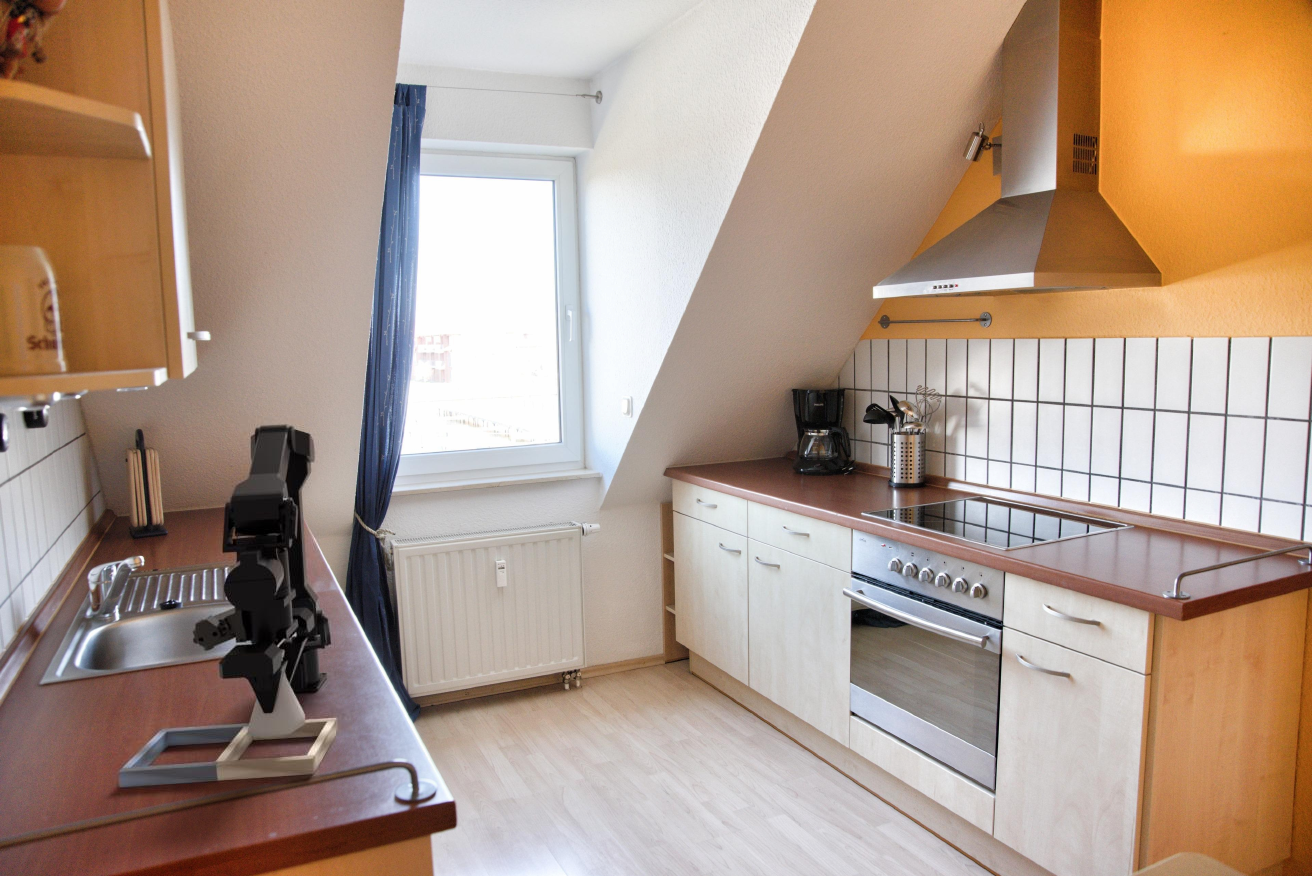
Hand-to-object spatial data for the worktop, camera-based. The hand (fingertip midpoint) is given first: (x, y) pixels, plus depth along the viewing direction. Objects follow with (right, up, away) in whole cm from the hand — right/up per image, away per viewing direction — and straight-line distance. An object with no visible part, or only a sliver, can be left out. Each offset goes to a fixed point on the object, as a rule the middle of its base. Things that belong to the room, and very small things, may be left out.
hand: (275, 704), depth 116 cm
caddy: (-5, -7, 0) cm, 9 cm away
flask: (0, -3, 0) cm, 3 cm away
